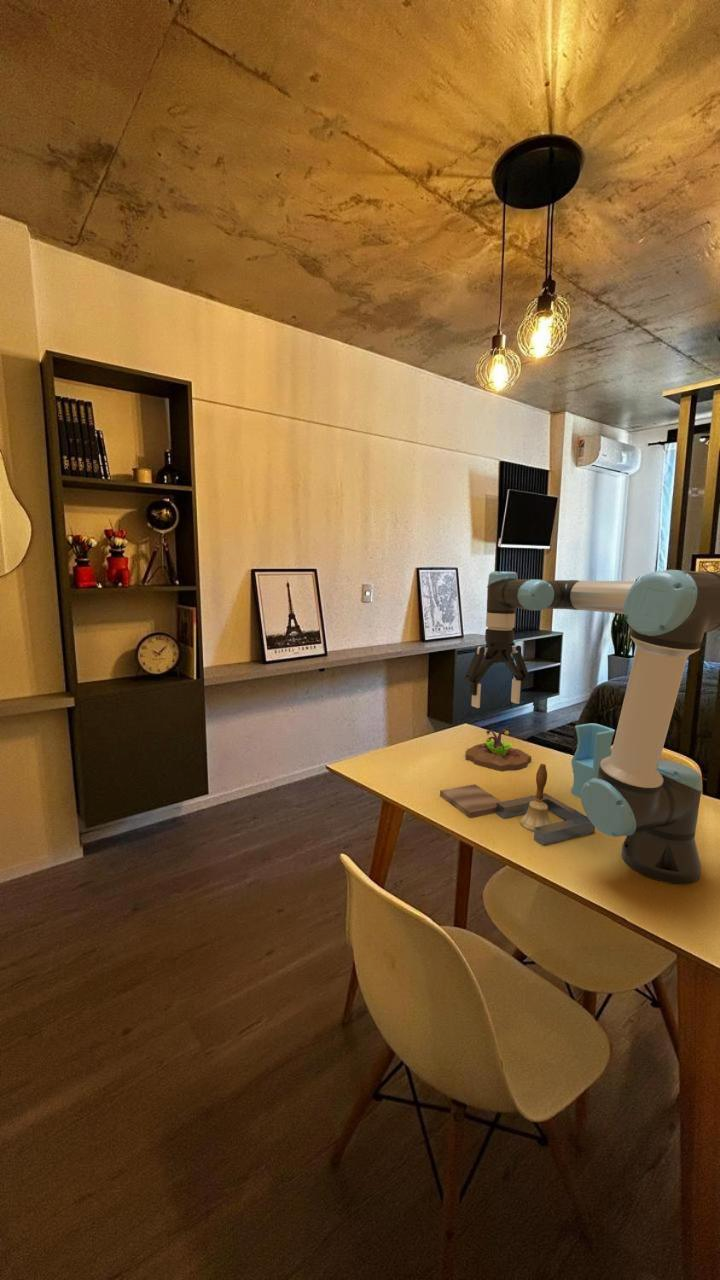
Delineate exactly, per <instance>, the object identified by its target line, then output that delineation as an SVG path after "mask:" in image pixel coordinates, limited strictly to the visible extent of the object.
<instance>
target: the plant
mask: <svg viewBox="0 0 720 1280" xmlns="http://www.w3.org/2000/svg"><path fill="white" fill-rule="evenodd" d="M485 733H486V735H490V733H492V735H493V736H489V737H487V738H486V740H483V743H479V744H475V745H473V746H472V747H470V748H467V749H466V751H465V760H466V761H470V762H472V763H473V764H474V765H476V766H479V767H483V768H486V769H490V770H493V771H497V772H508V771H509V772H510V771H519V770H522V769H525V768H527V767H528V764H530V763H532V756H531V755H529V754H528V753H526V752H524V751H523V750H521V749H519V748H513V747H512V746H513V745H514V742H509V743H507V744H505V740H504V739H502V733H504V735H505V736H509V734H510V732H509V731H508V730H507V729H505V728H503V729H501V730H500V731H499V732H498V734H496V733H495V731H493V730H492V729H488V730H486V732H485ZM492 739H493V740H492Z"/></svg>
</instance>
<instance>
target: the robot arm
mask: <svg viewBox="0 0 720 1280" xmlns="http://www.w3.org/2000/svg"><path fill="white" fill-rule="evenodd" d="M486 588H487V593H486V594H487V595H486V596H487V598H486V599H487V600H486V615H485V616H486V617H485V627H487V628H486V629H485V631H484V632H485V634H484V635H485V636H484V642H485V643H486V644H485V647H483V646H476V647H475V651H474V655H473V657H472V660H471V661H470V664H469V667H468V669H467V671H466V674H465V676H464V677H463V680H464V681H466V682H469V683H470V685H469V686H470V687H469V688H470V689H469V693H470V695H471V704H470V705H471V707H473V708H476V709H479V708H481V694H482V693H481V691H482V684H481V683H480V682H481V680H482V678H483V677H484V676H485V675H486V673H487V672H488V670H489V669H490V667H491V666H493V665H494V664H498V663H503V664H505V665H506V667H507V669H508V670H509V671H510V673H511V674H512V676H513V677H514V678H512V679H511V693H510V702H511V703H513V704H515V705H516V704H517V705H519V704H520V699H521V697H520V696H521V692H522V690H523V682H525V681H526V678H529V677H530V676H529V675H530V674H529V672H528V669H527V666H526V662H525V660H524V656H523V654H522V646H521V645H517V644H513V643H514V640H515V639H514V637H515V631H514V628H515V622H516V609H522V610H528V611H545V610H573V611H574V610H575V611H588V612H600V613H609V614H610V613H612V614H623V615H624V617H626V618H627V619H626V622H627V624H628V625H629V626H630V628H631V631H630V635H629V637H630V639H631V640H632V642H633V643H634V644H635V646H636V647H635V653H634V656H633V661H632V664H631V665H632V666H631V668H630V672H629V677H628V682H627V685H626V689H625V694H624V697H623V698H624V699H623V702H622V706H621V710H620V716H619V719H618V724H617V728H616V730H615V734H614V735H615V736H614V740H613V745H612V748H611V756H609V757H606V758H604V759H602V761H601V763H600V767H599V771H598V775H597V778H593V779H591V780H589V781H588V782H586V783H585V784H584V786H583V787H582V791H581V798H580V801H581V805H582V808H583V811H584V813H585V814H586V816H587V817H588V819H589V820H590V822H591V823H592V824H593V825H594V826H595V829H596V830H598V831H599V832H601V833H602V834H604V835H606V836H609V837H613V838H615V837H616V838H620V837H625V839H624V841H623V842H622V846H621V858H622V859H623V861H624V863H626V864H627V865H628V866H629V867H630V868H632V869H633V870H634V871H636V872H637V873H640V874H642V875H643V876H646V877H648V878H651V879H654V880H657V881H660V882H661V881H662V882H664V883H670V884H678V885H679V884H680V885H683V884H692V883H694V882H696V881H698V880H699V879H700V877H701V872H702V870H701V869H702V864H701V863H702V862H701V861H700V856H699V852H698V848H697V843H696V830H697V824H698V816H699V808H700V803H701V802H700V801H701V797H702V796H701V793H702V792H703V789H702V776H701V774H700V773H699V772H698V771H697V770H695V769H693V768H692V767H689V766H687V765H684V764H683V763H678V762H676V761H673V760H672V761H671V760H668V759H663V758H661V757H662V754H663V749H664V745H665V743H666V738H667V735H668V731H669V728H670V724H671V720H672V718H673V717H672V716H673V712H674V709H675V706H676V701H677V698H678V695H679V694H678V693H679V691H680V686H681V683H682V679H683V675H684V671H685V668H686V665H687V660H688V658H689V656H690V655H692V654H694V653H696V652H698V651H700V649H701V646H702V642H703V640H704V639H703V638H704V634H705V633H711V632H716V631H719V630H720V573H718V572H715V571H696V570H694V571H693V570H680V569H679V570H678V569H665V570H659V571H658V570H656V571H651V572H649V573H647V574H644V575H642V577H640V578H638V579H637V580H636V581H635V580H631V581H630V580H578V579H569V580H568V579H567V580H565V579H563V580H562V579H561V580H560V579H558V580H557V579H556V580H555V579H539V578H538V579H534V578H532V579H518V574H517V572H515V571H491V572H490V573H489V574H488V581H487V586H486ZM511 654H512V655H511Z"/></svg>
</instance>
